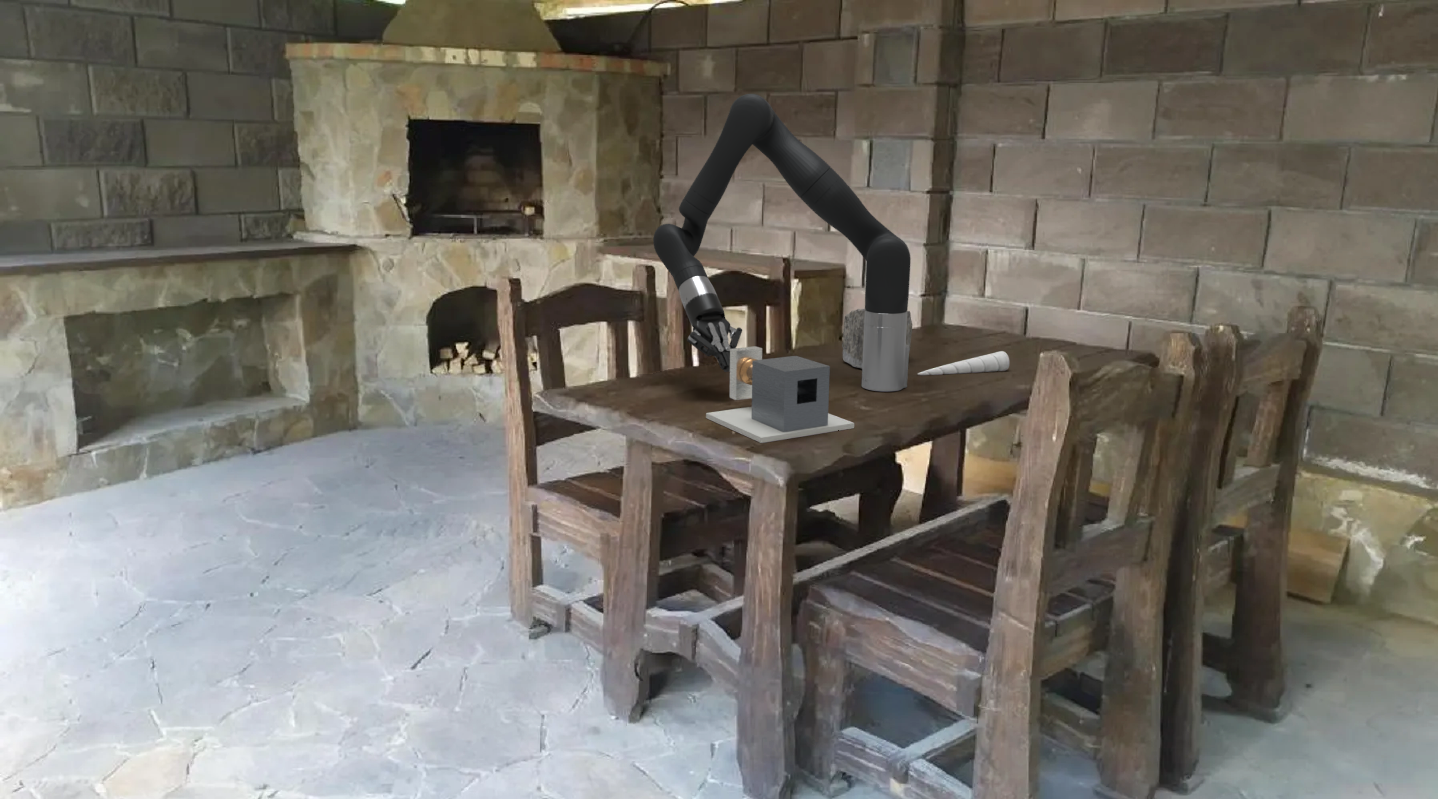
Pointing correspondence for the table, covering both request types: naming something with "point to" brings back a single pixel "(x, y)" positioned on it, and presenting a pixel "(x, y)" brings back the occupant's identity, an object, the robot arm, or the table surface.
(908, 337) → the petrified wood
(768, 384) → the block
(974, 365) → the unicorn horn
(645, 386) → the table surface
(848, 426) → the base plate
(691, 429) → the table surface
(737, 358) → the shaft
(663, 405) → the table surface
